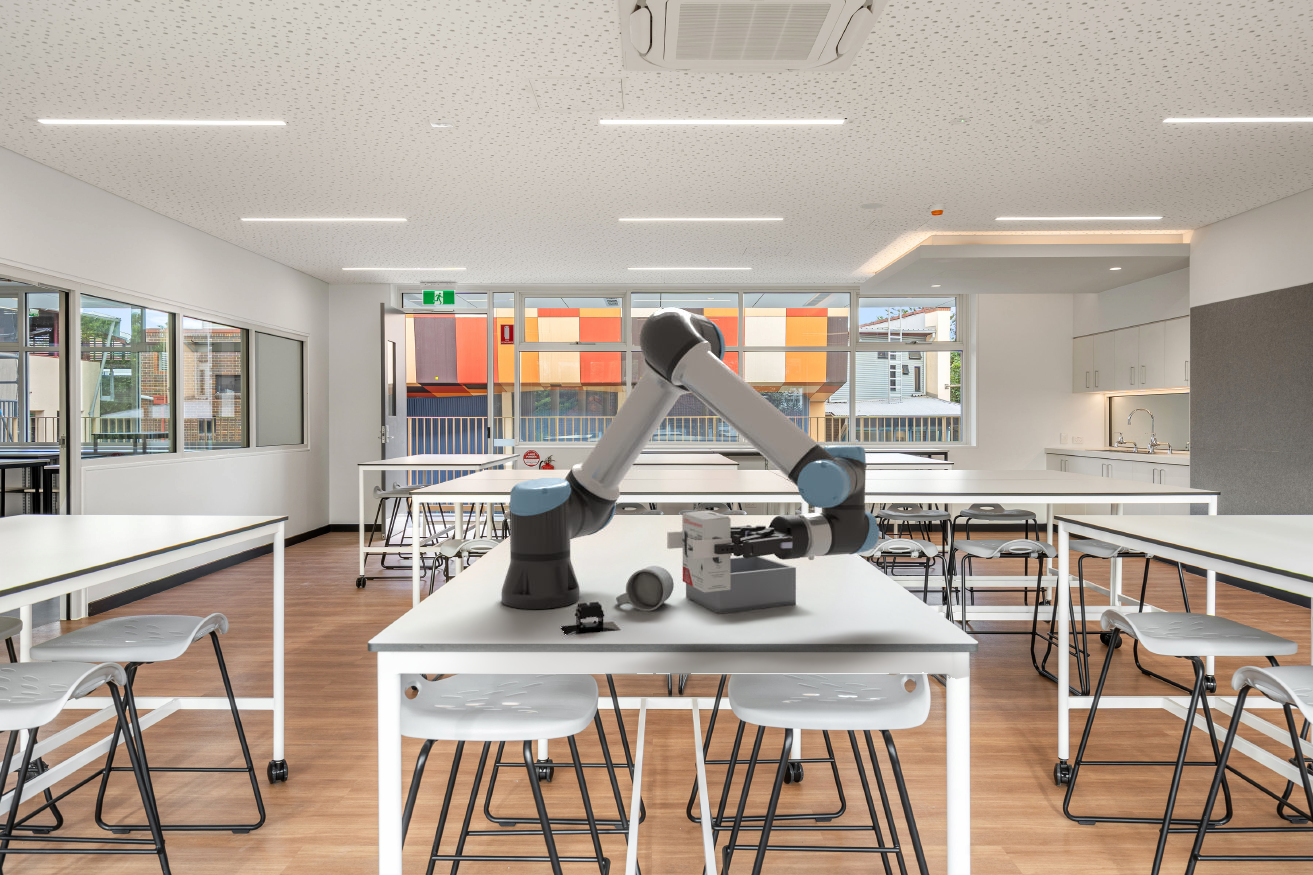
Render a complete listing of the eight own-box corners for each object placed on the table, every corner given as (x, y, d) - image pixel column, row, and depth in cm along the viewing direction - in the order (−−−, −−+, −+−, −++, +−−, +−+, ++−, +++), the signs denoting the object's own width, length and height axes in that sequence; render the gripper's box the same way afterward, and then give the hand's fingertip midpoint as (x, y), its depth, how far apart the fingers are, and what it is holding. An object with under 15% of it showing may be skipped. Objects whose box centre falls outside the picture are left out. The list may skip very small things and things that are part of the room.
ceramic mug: (675, 602, 140) (675, 562, 140) (664, 613, 132) (664, 571, 132) (623, 598, 143) (623, 560, 143) (609, 609, 135) (609, 568, 135)
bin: (686, 597, 144) (685, 562, 144) (757, 589, 151) (757, 555, 150) (719, 613, 131) (719, 575, 131) (795, 603, 138) (795, 567, 138)
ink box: (680, 581, 121) (681, 511, 121) (707, 579, 123) (708, 509, 123) (703, 593, 113) (704, 517, 113) (731, 590, 115) (732, 516, 115)
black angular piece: (619, 622, 128) (619, 596, 128) (631, 634, 121) (630, 606, 121) (549, 629, 124) (549, 602, 124) (556, 641, 117) (556, 613, 117)
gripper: (837, 569, 116) (712, 582, 106) (763, 547, 135) (653, 556, 126) (837, 523, 116) (713, 531, 106) (764, 507, 135) (653, 513, 126)
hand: (680, 544), depth 116 cm, fingers closed on ink box, 9 cm apart
